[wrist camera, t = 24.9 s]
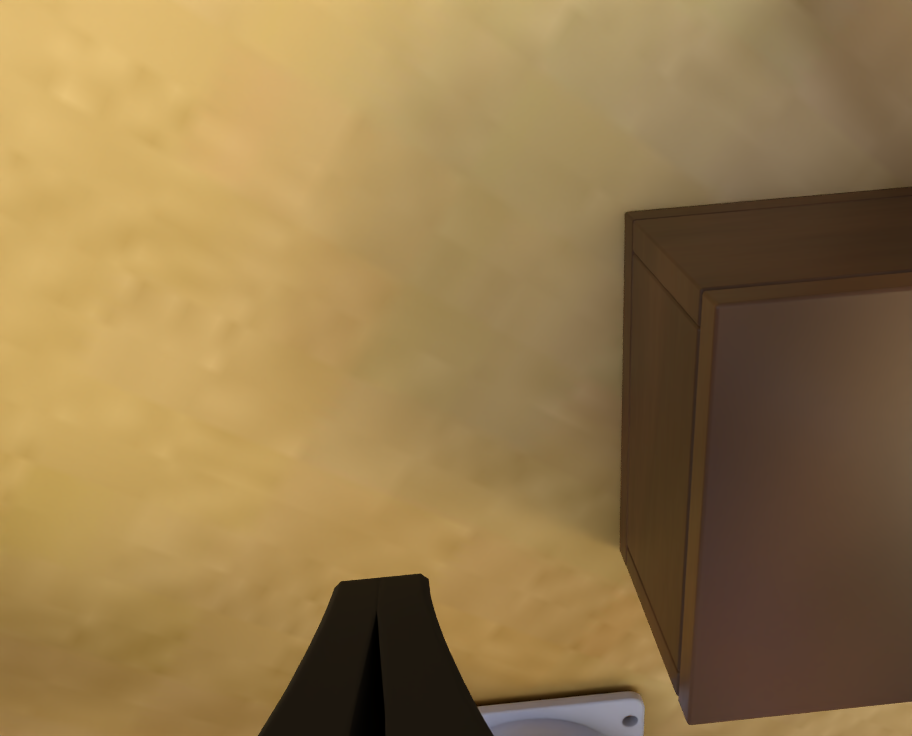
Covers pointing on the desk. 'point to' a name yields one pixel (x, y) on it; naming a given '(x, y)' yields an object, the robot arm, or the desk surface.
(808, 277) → the box
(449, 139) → the desk surface
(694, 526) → the lid
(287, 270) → the desk surface
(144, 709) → the desk surface
